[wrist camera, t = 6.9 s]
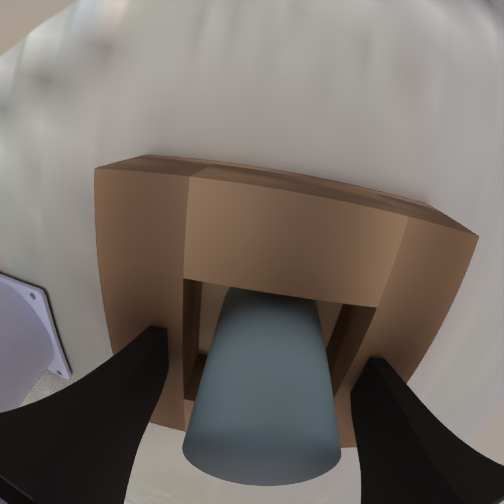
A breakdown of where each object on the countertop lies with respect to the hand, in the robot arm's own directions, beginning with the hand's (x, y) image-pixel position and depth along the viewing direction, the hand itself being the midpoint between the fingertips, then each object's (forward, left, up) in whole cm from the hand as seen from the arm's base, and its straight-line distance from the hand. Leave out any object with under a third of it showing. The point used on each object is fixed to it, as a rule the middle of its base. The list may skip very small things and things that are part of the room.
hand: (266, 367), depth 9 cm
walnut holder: (0, 0, -4) cm, 4 cm away
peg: (0, 0, -3) cm, 3 cm away
